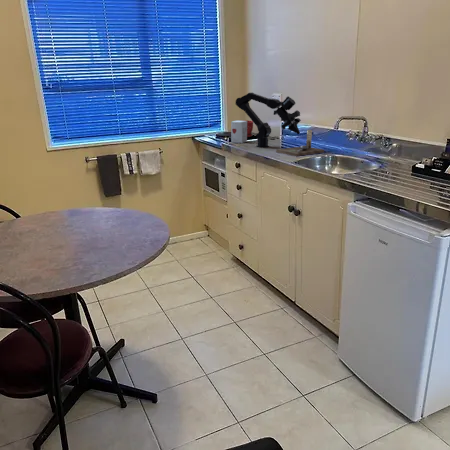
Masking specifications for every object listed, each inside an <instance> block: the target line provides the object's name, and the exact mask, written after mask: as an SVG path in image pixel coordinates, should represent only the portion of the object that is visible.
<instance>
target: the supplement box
mask: <svg viewBox="0 0 450 450" xmlns="http://www.w3.org/2000/svg"><path fill="white" fill-rule="evenodd" d="M247 121H248V120H246V121H245V120H233V121H231V122H230V123H231V127H230V129H231V130H230V131H231V132H230V133H231V135H230V136H231V137H230V138H231V139H230V140H231V141H230V142H231V143H237V144H243V143H246V142H248V137H247Z"/></svg>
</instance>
